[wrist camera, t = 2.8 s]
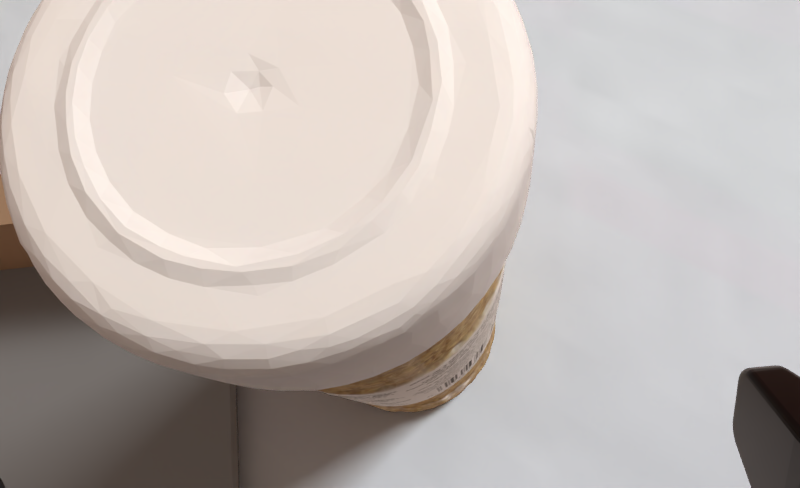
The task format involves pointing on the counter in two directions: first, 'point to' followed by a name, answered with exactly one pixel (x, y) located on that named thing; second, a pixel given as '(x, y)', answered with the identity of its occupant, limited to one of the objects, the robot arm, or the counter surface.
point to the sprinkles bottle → (277, 183)
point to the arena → (98, 400)
